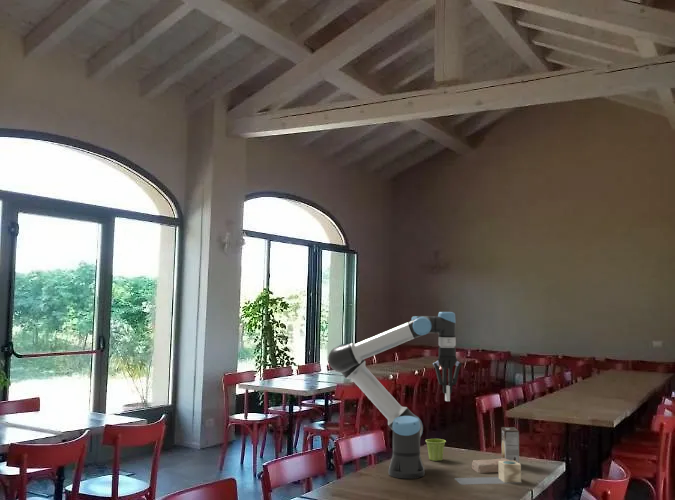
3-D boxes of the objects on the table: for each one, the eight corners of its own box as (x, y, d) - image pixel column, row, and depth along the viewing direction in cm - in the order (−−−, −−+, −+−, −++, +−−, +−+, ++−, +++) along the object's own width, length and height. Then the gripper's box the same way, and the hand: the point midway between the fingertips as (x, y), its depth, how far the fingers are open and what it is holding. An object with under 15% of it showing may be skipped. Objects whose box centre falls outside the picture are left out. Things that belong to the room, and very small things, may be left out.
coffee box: (501, 462, 318) (500, 426, 319) (515, 462, 317) (514, 426, 319) (505, 467, 308) (505, 430, 310) (520, 467, 308) (519, 430, 309)
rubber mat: (460, 485, 278) (460, 484, 278) (453, 479, 288) (453, 478, 288) (522, 484, 281) (522, 483, 281) (513, 477, 290) (513, 476, 290)
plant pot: (423, 461, 320) (423, 441, 320) (427, 456, 329) (427, 438, 329) (444, 462, 317) (444, 443, 317) (447, 458, 326) (447, 439, 326)
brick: (479, 474, 296) (479, 463, 297) (470, 470, 305) (470, 459, 305) (514, 473, 300) (514, 461, 300) (505, 468, 308) (505, 457, 309)
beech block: (520, 464, 283) (521, 482, 282) (514, 460, 289) (515, 477, 289) (504, 464, 282) (504, 482, 281) (498, 460, 289) (498, 478, 288)
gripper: (434, 347, 304) (435, 402, 303) (463, 347, 306) (464, 402, 304) (430, 346, 312) (430, 399, 310) (459, 346, 313) (459, 399, 311)
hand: (447, 400), depth 307 cm, fingers closed
